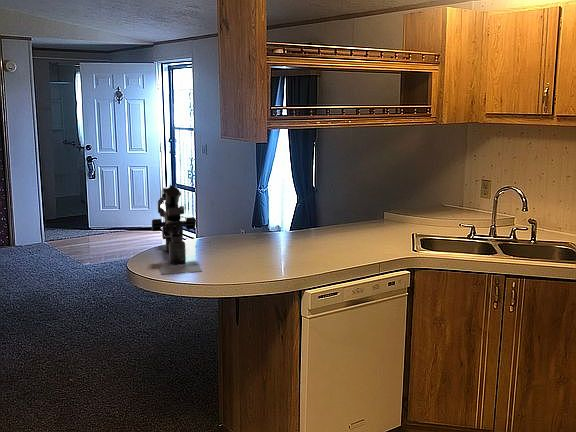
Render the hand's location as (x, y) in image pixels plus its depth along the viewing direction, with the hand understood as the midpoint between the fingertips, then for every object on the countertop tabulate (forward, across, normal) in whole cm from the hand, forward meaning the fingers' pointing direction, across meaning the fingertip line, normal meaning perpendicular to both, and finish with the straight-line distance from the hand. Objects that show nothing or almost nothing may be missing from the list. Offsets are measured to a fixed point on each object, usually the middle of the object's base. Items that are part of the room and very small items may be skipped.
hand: (175, 240), depth 269 cm
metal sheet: (+18, 0, -6) cm, 19 cm away
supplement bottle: (+10, 0, +2) cm, 11 cm away
